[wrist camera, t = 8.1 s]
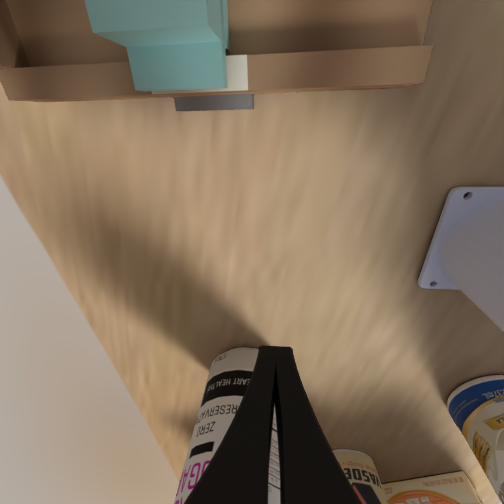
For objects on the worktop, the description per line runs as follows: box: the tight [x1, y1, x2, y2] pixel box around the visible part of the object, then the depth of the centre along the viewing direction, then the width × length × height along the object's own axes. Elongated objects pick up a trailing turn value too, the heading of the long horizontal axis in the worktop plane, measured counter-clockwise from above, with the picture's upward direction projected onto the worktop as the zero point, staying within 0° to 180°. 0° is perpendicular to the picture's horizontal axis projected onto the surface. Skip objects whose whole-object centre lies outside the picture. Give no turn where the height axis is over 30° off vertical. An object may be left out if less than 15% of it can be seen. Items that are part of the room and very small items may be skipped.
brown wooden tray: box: [0, 0, 433, 111], centre depth 12 cm, size 20×8×5 cm, turn 92°
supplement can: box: [174, 347, 280, 504], centre depth 21 cm, size 8×8×15 cm
